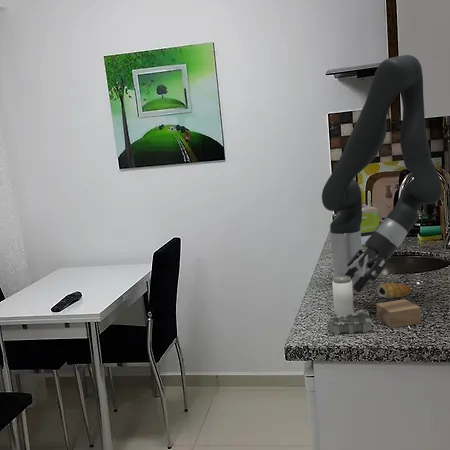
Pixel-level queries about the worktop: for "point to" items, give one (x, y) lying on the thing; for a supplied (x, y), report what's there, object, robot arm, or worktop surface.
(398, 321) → the walnut block
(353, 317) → the egg carton
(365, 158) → the robot arm
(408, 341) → the worktop surface
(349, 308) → the spice jar
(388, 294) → the pastry
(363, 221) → the tea box
